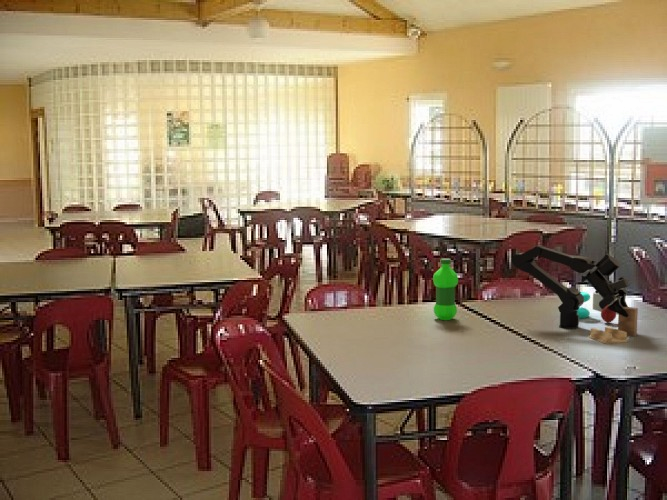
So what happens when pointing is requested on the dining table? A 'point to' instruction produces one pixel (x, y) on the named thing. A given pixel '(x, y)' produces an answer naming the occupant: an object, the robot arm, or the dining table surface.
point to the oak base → (608, 335)
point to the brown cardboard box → (628, 321)
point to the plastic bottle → (445, 291)
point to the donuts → (582, 311)
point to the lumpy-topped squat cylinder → (596, 301)
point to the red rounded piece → (608, 315)
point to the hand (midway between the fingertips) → (629, 315)
